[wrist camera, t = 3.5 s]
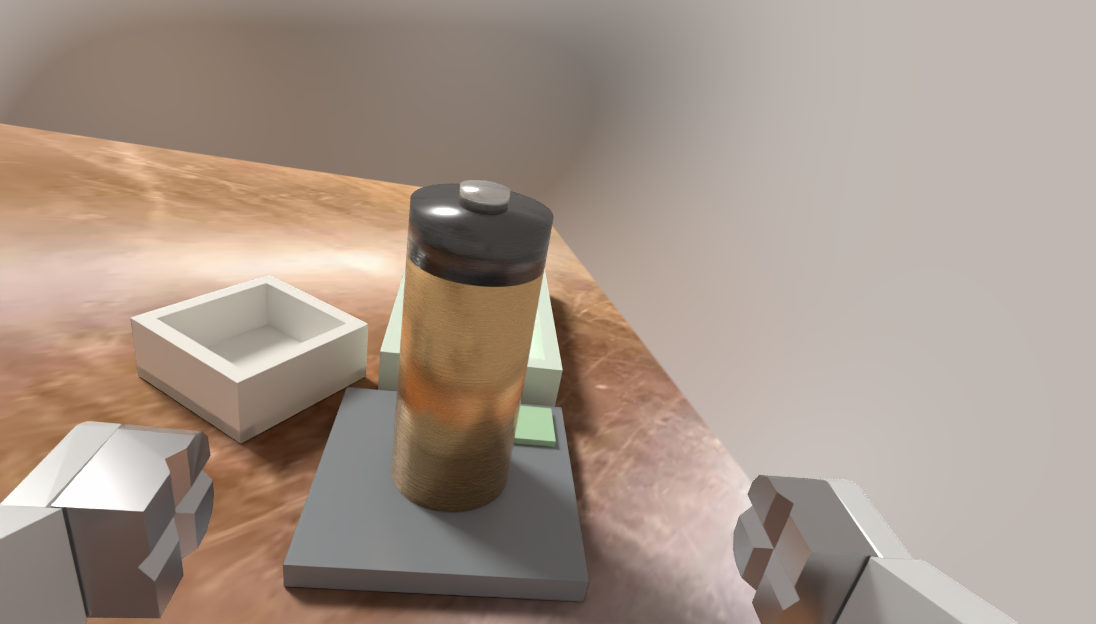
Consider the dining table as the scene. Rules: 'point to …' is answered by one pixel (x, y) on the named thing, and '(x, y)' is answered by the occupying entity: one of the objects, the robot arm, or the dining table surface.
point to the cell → (465, 339)
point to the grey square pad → (439, 517)
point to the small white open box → (250, 353)
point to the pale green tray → (541, 362)
